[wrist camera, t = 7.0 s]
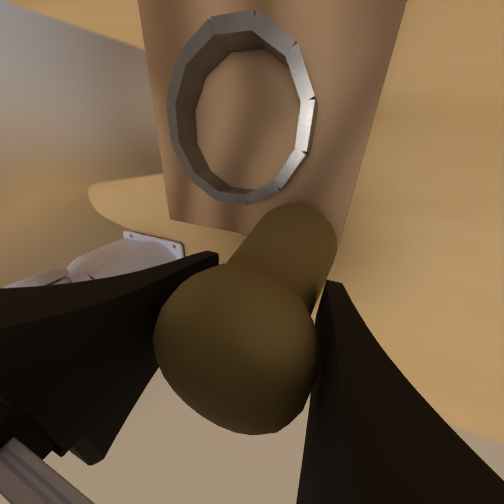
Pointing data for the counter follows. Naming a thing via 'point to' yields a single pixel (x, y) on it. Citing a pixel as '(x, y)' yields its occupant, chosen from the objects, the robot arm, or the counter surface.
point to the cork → (250, 325)
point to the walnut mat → (273, 104)
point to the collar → (192, 81)
